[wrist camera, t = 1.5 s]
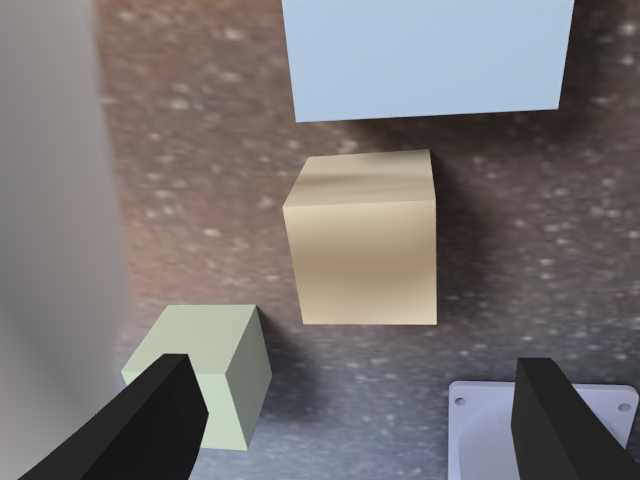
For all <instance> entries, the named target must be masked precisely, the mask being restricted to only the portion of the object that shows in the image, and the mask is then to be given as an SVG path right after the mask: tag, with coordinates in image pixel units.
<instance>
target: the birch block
mask: <svg viewBox="0 0 640 480" xmlns="http://www.w3.org/2000/svg"><path fill="white" fill-rule="evenodd" d="M283 212H284V218H285V223H286V229H287V235H288V240H289V246H290V251H291V257H292V262H293V268H294V274H295V279H296V285H297V290H298V296H299V302H300V307H301V313H302V318H303V324H434V325H437V312H436V199H435V191H434V183H433V175H432V167H431V160H430V152H429V149H422V150H408V151H393V152H378V153H363V154H349V155H334V156H319V157H308V159H307V161H306V163H305V165H304V167H303V169H302V171H301V173H300V175H299V177H298V178H297V180H296V182H295V184H294V186H293V188H292V190H291V192H290V194H289V196H288V198H287V200H286V202H285V203H284V205H283Z"/></svg>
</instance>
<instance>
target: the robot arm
mask: <svg viewBox="0 0 640 480" xmlns="http://www.w3.org/2000/svg"><path fill="white" fill-rule="evenodd" d="M457 398H463V399H457ZM638 402H639V395H638V393H637V391H636V390H635V388H633V387H631V386H627V385H597V384H571V383H570V382H569V380H568V379H567V378H566V376H565V375H564V373H563V372H562V371H561V369H560V368H559V367H558V365H557V364H556V363H555V362H554V361H553V360H552V359H551V358H518V362H517V371H516V380H515V382H484V381H455V382H453V383H452V384H451V385H450V386H449V425H448V480H640V466H639V465H638V464H637V463H636V462H635V461H634V459H633V458H632V457H631V456H630V455H629V454H628V453H627V451H626V450H625V448H626V444H627V441H628V437H629V434H630V430H631V427H632V423H633V420H634V416H635V412H636V409H637V405H638ZM621 404H622V405H621ZM208 417H209V412H208V409H207V406H206V404H205V401H204V398H203V395H202V392H201V389H200V387H199V384H198V381H197V378H196V375H195V372H194V370H193V367H192V364H191V361H190V358H189V355H188V354H175V353H164V354H162V355H161V356H160V357H159V358H158V359H157V360H155V361H154V362H153V363H152V364H151V365H150V366H149V367H148V368H146V369H145V370H144V371H143V372H142V373H141V374H140V375H139V376H138V377H137V378H135V379H134V380H133V381H132V382H131V383H130V384H129V385H128V386H127V387H126V388H125V389H123V390H122V391H121V392H120V393H119V394H118V395H117V396H116V397H115V398H114V399H112V400H111V401H110V402H109V403H108V404H107V405H106V406H105V407H104V408H102V409H101V410H100V411H99V412H98V413H97V414H96V415H95V416H94V417H92V418H91V420H89V421H88V422H87V423H86V424H85V425H83V427H81V428H80V429H79V430H78V431H76V432H75V433H74V434H73V435H72V436H70V437H69V438H68V439H67V440H66V441H65V442H63V443H62V444H61V445H60V446H58V447H57V448H56V449H55V450H54V451H52V452H51V453H50V454H49V455H48V456H47V457H46V458H44V459H43V460H42V461H41V462H40V463H38V464H37V465H36V466H34V467H33V468H32V469H31V470H29V471H28V472H27V473H25V474H24V475H23V476H22V477H20V478H19V479H18V480H188V479H189V477H190V474H191V472H192V469H193V467H194V464H195V462H196V459H197V456H198V453H199V449H200V446H201V443H202V439H203V436H204V432H205V428H206V424H207V421H208Z"/></svg>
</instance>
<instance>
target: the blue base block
mask: <svg viewBox="0 0 640 480" xmlns="http://www.w3.org/2000/svg"><path fill="white" fill-rule="evenodd" d="M282 6H283V15H284V23H285V32H286V40H287V49H288V57H289V66H290V74H291V82H292V91H293V99H294V108H295V116H296V122H310V121H330V120H349V119H369V118H388V117H408V116H428V115H447V114H467V113H487V112H506V111H526V110H546V109H558V105H559V99H560V92H561V85H562V79H563V72H564V66H565V59H566V52H567V46H568V39H569V32H570V26H571V19H572V13H573V6H574V0H282Z"/></svg>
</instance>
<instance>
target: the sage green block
mask: <svg viewBox="0 0 640 480" xmlns="http://www.w3.org/2000/svg"><path fill="white" fill-rule="evenodd" d="M164 353H175V354H188V355H189V358H190V361H191V364H192V367H193V370H194V372H195V375H196V378H197V381H198V384H199V387H200V389H201V392H202V395H203V398H204V401H205V404H206V406H207V409H208V412H209V417H208V421H207V424H206V428H205V432H204V436H203V439H202V443H201V446H200V448H217V449H233V450H248V448H249V445H250V442H251V439H252V436H253V433H254V430H255V427H256V424H257V421H258V418H259V415H260V411H261V408H262V405H263V402H264V399H265V396H266V393H267V390H268V387H269V384H270V381H271V378H272V371H271V367H270V363H269V358H268V354H267V350H266V346H265V341H264V337H263V333H262V328H261V324H260V320H259V316H258V311H257V307H256V305H168V306H167V307H166V308H165V310H164V311H163V313H162V314H161V315H160V317H159V318H158V320H157V321H156V323H155V324H154V325H153V327H152V328H151V330H150V331H149V332H148V334H147V335H146V337H145V338H144V339H143V341H142V342H141V344H140V345H139V347H138V348H137V349H136V351H135V352H134V354H133V355H132V356H131V358H130V359H129V361H128V362H127V363H126V365H125V366H124V368H123V369H122V371H121V373H122V375H123V377H124V380H125V382H126V384H127V386H128V385H129V384H130V383H131V382H132V381H133V380H134V379H135V378H137V377H138V376H139V375H140V374H141V373H142V372H143V371H144V370H145V369H146V368H148V367H149V366H150V365H151V364H152V363H153V362H154V361H155V360H157V359H158V358H159V357H160V356H161V355H162V354H164Z"/></svg>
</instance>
